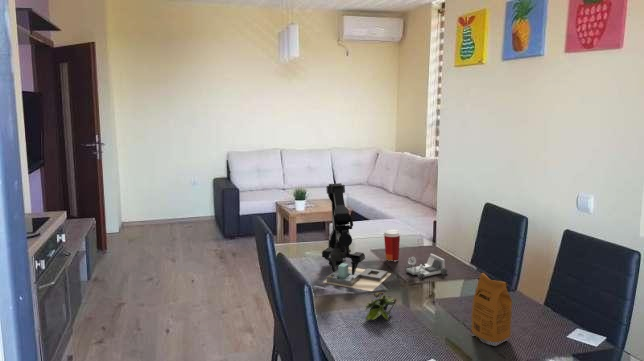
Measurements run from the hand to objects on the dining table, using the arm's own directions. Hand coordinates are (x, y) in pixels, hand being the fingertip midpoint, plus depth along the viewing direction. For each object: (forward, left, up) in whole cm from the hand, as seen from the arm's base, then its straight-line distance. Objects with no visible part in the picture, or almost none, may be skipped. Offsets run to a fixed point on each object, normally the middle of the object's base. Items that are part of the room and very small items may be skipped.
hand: (343, 273), depth 229 cm
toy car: (-24, +29, -4) cm, 38 cm away
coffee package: (+25, +68, -4) cm, 73 cm away
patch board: (-4, +5, -4) cm, 7 cm away
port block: (0, 0, -4) cm, 4 cm away
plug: (0, 0, -3) cm, 3 cm away
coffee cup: (-33, +10, -4) cm, 35 cm away
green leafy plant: (+26, +29, -4) cm, 39 cm away
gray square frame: (-10, +10, -4) cm, 15 cm away
